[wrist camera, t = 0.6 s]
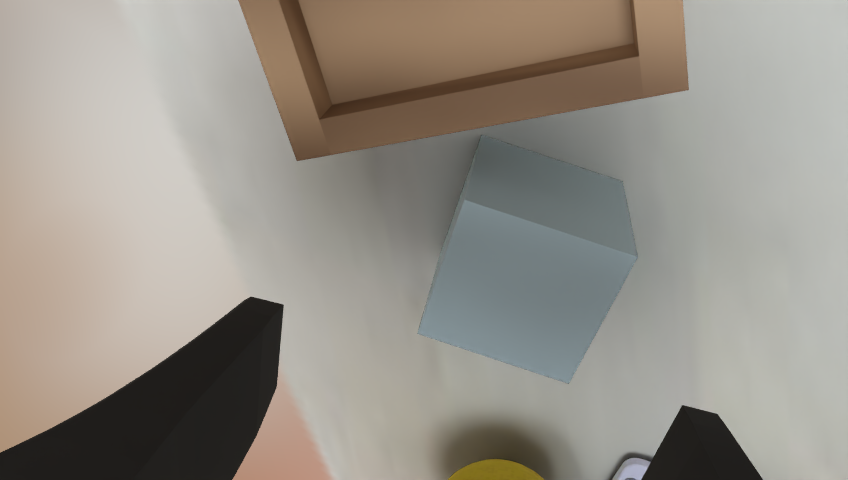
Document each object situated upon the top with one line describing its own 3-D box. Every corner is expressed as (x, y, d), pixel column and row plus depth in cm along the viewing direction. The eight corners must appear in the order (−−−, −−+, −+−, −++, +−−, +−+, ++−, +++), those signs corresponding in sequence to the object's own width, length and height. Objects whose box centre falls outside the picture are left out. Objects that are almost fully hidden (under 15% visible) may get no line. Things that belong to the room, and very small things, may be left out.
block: (566, 293, 23) (568, 383, 19) (440, 251, 23) (417, 333, 19) (622, 180, 20) (638, 257, 16) (481, 133, 20) (464, 199, 16)
